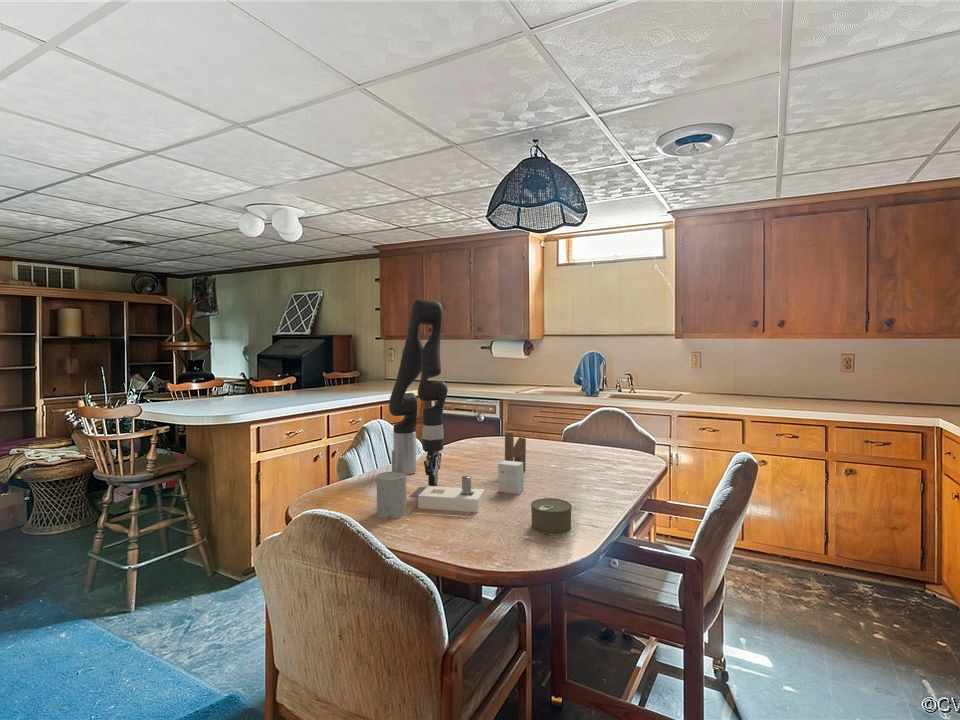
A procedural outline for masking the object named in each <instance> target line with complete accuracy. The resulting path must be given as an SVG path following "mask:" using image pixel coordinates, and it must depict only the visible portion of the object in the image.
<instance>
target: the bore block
mask: <svg viewBox="0 0 960 720" xmlns="http://www.w3.org/2000/svg"><path fill="white" fill-rule="evenodd" d="M426 487H427V488H426V489H425V490H424V491H422V492H421V493H420V494H419V495H418V497H417V499H418V500H417V503H418V504H417V506H418V509H426V510H427V509H428V510H439V511H440V510H441V511H452V512H453V511H454V512H455V511H456V512H465V513H466V512H468V513H470V512H471V513H477V514H479V513H480V510H481V509H482V507H483V506H484V505H485V500H486V497H485V496H486V495H485V491H486V490H485V488H482V489H481V488H471V496H466V495H462V487H453V486H440V485H439V486H438V485H437V486H429V485H428V486H426Z"/></svg>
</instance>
